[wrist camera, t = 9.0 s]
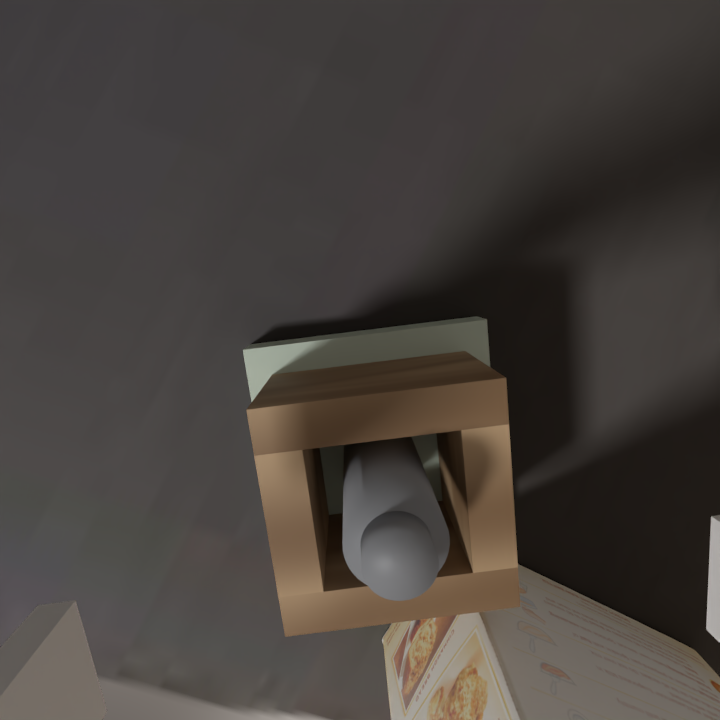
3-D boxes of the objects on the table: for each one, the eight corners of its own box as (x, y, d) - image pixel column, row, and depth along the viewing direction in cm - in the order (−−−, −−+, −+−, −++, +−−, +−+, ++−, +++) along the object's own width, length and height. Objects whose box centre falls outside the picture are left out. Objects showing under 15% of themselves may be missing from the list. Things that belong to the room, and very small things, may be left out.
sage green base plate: (250, 344, 20) (169, 404, 11) (476, 315, 20) (586, 352, 11) (284, 550, 22) (240, 750, 13) (492, 523, 22) (597, 704, 13)
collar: (272, 374, 19) (246, 409, 14) (465, 350, 19) (506, 377, 14) (299, 549, 21) (285, 636, 16) (479, 527, 21) (520, 606, 16)
